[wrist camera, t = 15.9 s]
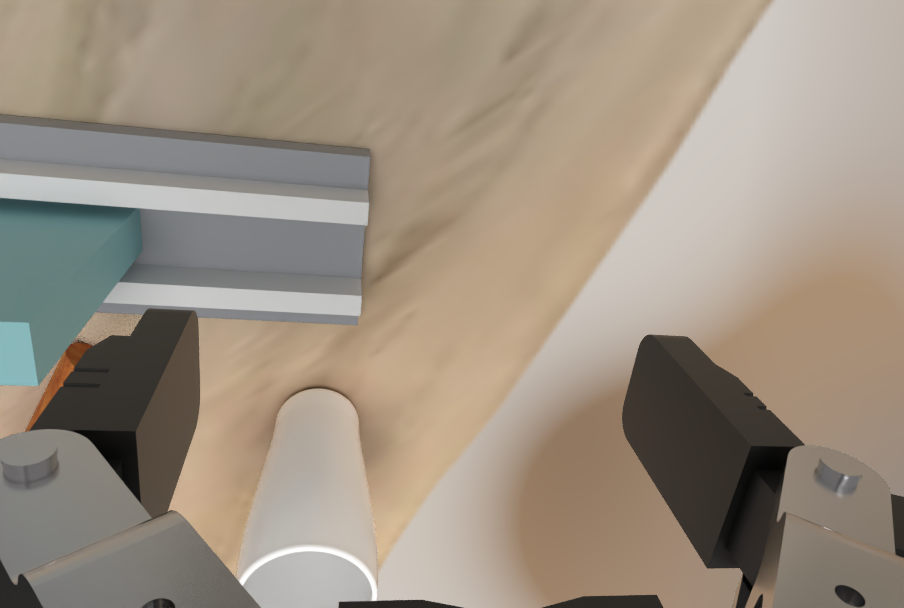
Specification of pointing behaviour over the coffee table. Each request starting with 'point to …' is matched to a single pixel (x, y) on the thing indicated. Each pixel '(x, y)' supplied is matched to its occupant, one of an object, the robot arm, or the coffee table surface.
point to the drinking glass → (311, 511)
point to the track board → (209, 215)
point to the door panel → (56, 277)
